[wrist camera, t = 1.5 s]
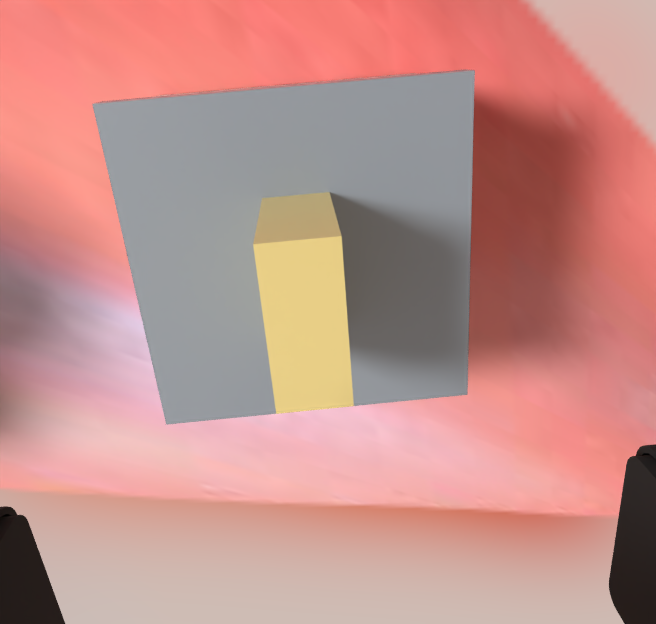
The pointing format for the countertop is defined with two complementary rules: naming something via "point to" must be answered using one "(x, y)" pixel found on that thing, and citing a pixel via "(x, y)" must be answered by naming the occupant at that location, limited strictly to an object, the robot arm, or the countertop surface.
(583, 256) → the countertop surface
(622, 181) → the countertop surface
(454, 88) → the lid
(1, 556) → the robot arm
